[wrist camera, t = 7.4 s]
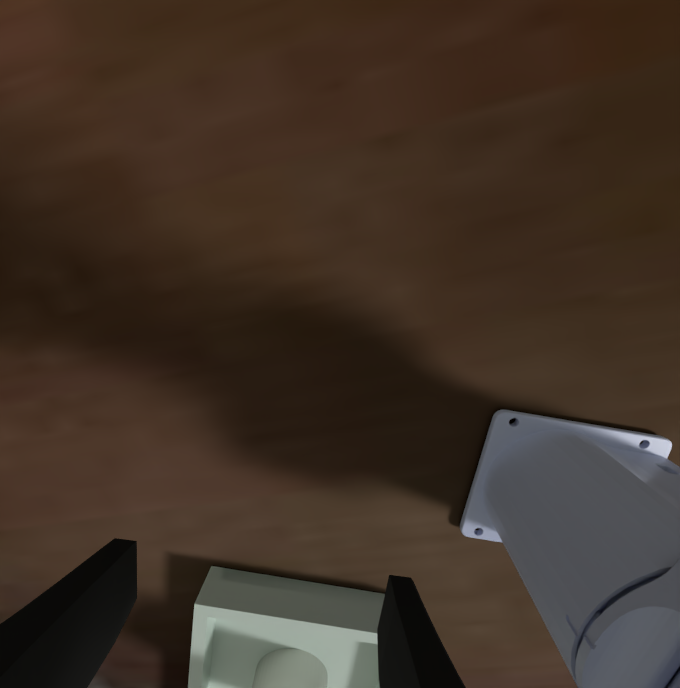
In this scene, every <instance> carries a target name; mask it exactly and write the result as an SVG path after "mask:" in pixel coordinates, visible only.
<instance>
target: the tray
mask: <svg viewBox="0 0 680 688" xmlns="http://www.w3.org/2000/svg"><path fill="white" fill-rule="evenodd" d="M384 597H385V594H382V593H376V592H370V591H364V590H358V589H351V588H345V587H339V586H333V585H327V584H321V583H314V582H308V581H302V580H296V579H290V578H283V577H277V576H271V575H265V574H259V573H253V572H246V571H240V570H234V569H228V568H222V567H216V566H211V568H210V570H209V572H208V575H207V577H206V579H205V581H204V584H203V586H202V588H201V590H200V593H199V595H198V597H197V599H196V601H195V604H194V615H193V628H192V641H191V654H190V667H189V680H188V688H252V684H253V680H254V675H255V671H256V667H257V664H258V663H259V661H260V660H261V659H262V658H263V657H264V656H265V655H266V654H268V653H270V652H272V651H275V650H279V649H287V648H291V649H299V650H303V651H306V652H308V653H310V654H312V655H314V656H316V657H317V658H318V659H319V660H320V661H321V662H322V663H323V664H324V666H325V668H326V670H327V674H328V684H327V688H380V685H379V675H378V641H377V628H378V624H379V619H380V615H381V610H382V606H383V601H384Z"/></svg>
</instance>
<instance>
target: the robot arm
mask: <svg viewBox="0 0 680 688" xmlns="http://www.w3.org/2000/svg"><path fill="white" fill-rule="evenodd" d="M512 418H516V420H515V422H514V423H511V424H509V421H510V420H511V419H512ZM641 441H643V443H642V444H640V442H641ZM639 444H640V445H639ZM671 448H672V443H671V441H670V440H668V439H667V438H665V437H663V436H659V435H653V434H647V433H641V432H635V431H629V430H623V429H617V428H611V427H605V426H600V425H594V424H588V423H582V422H576V421H570V420H564V419H558V418H552V417H546V416H540V415H534V414H528V413H522V412H516V411H510V410H498V411H497V412H495V413H494V415H493V417H492V421H491V424H490V427H489V430H488V434H487V437H486V440H485V444H484V447H483V450H482V453H481V457H480V460H479V463H478V467H477V470H476V473H475V476H474V480H473V483H472V486H471V490H470V493H469V496H468V499H467V503H466V506H465V509H464V513H463V516H462V519H461V522H460V529H461V532H462V534H463V535H464V536H467V537H472V538H478V539H484V540H490V541H496V542H502V543H503V544H504V546H505V548H506V550H507V552H508V554H509V555H510V557H511V559H512V561H513V563H514V565H515V567H516V569H517V571H518V573H519V575H520V577H521V579H522V581H523V582H524V584H525V586H526V588H527V590H528V592H529V594H530V596H531V598H532V600H533V602H534V604H535V606H536V607H537V609H538V611H539V613H540V615H541V617H542V619H543V621H544V623H545V625H546V627H547V629H548V631H549V633H550V634H551V636H552V638H553V640H554V642H555V644H556V646H557V648H558V650H559V652H560V654H561V656H562V658H563V660H564V661H565V663H566V665H567V667H568V669H569V671H570V673H571V675H572V677H573V679H574V681H575V683H576V684H577V686H578V688H680V467H679V466H677V465H676V464H674V463H673V462H671V461H670V460H668V459H667V457H668V455H669V453H670V451H671ZM477 528H480V529H479V530H475V529H477ZM136 599H137V541H131V540H124V539H116V538H115V539H113V540H112V541H111V542H109V543H108V544H107V545H105V546H104V547H103V548H101V549H100V550H99V551H97V552H96V553H95V554H94V555H92V556H91V557H90V558H88V559H87V560H86V561H84V562H83V563H82V564H81V565H79V566H78V567H77V568H75V569H74V570H73V571H72V572H70V573H69V574H68V575H66V576H65V577H64V578H62V579H61V580H60V581H58V582H57V583H56V584H54V585H53V586H52V587H50V588H49V589H48V590H46V591H45V592H44V593H42V594H41V595H40V596H38V597H37V598H36V599H34V600H33V601H32V602H30V603H29V604H28V605H26V606H25V607H24V608H22V609H21V610H19V611H18V612H17V613H15V614H14V615H13V616H11V617H10V618H8V619H7V620H5V621H4V622H3V623H1V624H0V688H87V687H88V685H89V684H90V682H91V681H92V679H93V677H94V676H95V674H96V672H97V671H98V669H99V668H100V666H101V664H102V663H103V661H104V659H105V658H106V656H107V654H108V653H109V651H110V650H111V648H112V646H113V645H114V643H115V641H116V639H117V637H118V635H119V633H120V631H121V629H122V627H123V625H124V623H125V621H126V619H127V617H128V615H129V613H130V611H131V609H132V607H133V605H134V603H135V601H136ZM377 641H378V675H379V685H380V688H465V686H464V684H463V682H462V680H461V678H460V677H459V675H458V673H457V671H456V669H455V667H454V665H453V663H452V661H451V660H450V658H449V656H448V654H447V652H446V650H445V648H444V646H443V644H442V642H441V640H440V638H439V636H438V634H437V632H436V630H435V628H434V626H433V624H432V622H431V620H430V618H429V615H428V613H427V611H426V609H425V607H424V605H423V602H422V600H421V598H420V596H419V593H418V591H417V589H416V586H415V584H414V582H413V580H412V579H411V578H409V577H401V576H394V575H389V579H388V583H387V588H386V592H385V597H384V601H383V606H382V610H381V615H380V619H379V624H378V628H377Z"/></svg>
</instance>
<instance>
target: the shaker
mask: <svg viewBox="0 0 680 688" xmlns="http://www.w3.org/2000/svg"><path fill="white" fill-rule="evenodd" d="M327 684H328V674H327V670H326V668H325V666H324V664H323V663H322V662H321V661H320V660H319V659H318V658H317V657H316V656H314V655H312V654H310V653H308V652H306V651H303V650H299V649H291V648H287V649H279V650H275V651H272V652H270V653H268V654H266V655H265V656H264V657H263V658H262V659H261V660H260V661H259V663H258V664H257V667H256V671H255V675H254V680H253V684H252V688H327Z"/></svg>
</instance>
